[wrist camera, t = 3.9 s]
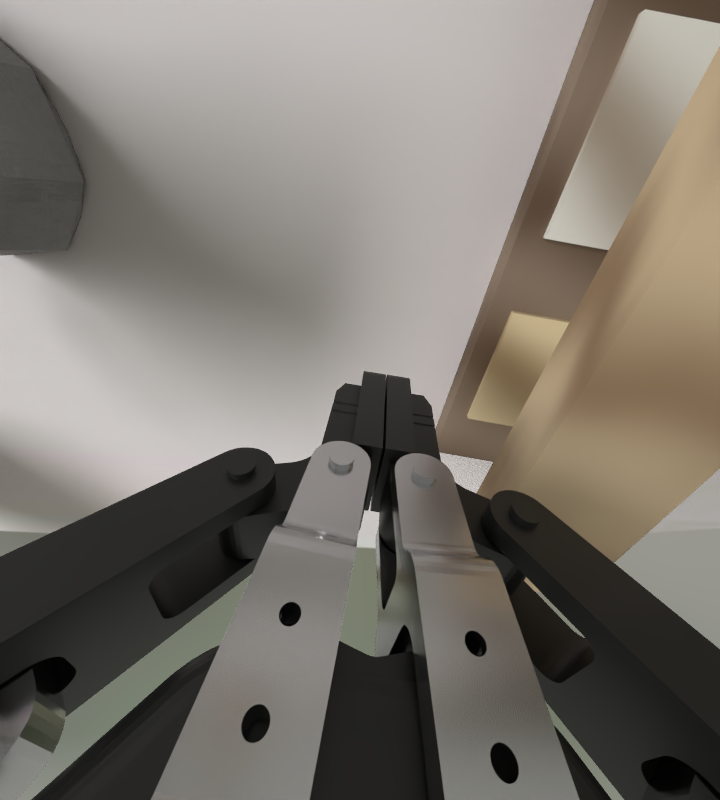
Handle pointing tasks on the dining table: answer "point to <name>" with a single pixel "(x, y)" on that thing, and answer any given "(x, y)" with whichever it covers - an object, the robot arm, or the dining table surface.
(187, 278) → the dining table surface
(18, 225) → the coffeepot
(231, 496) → the robot arm
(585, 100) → the label board
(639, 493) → the swing arm
